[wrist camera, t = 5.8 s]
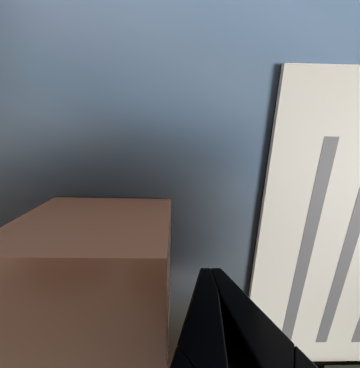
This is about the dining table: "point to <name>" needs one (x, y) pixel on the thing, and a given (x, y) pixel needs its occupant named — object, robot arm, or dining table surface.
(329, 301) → the letter
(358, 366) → the green cube
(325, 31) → the dining table surface
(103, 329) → the terracotta block
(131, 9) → the dining table surface
